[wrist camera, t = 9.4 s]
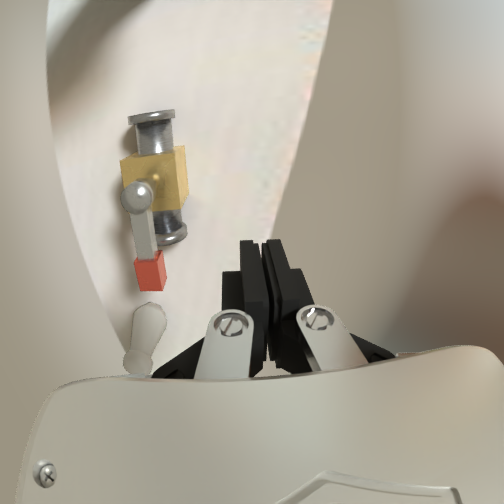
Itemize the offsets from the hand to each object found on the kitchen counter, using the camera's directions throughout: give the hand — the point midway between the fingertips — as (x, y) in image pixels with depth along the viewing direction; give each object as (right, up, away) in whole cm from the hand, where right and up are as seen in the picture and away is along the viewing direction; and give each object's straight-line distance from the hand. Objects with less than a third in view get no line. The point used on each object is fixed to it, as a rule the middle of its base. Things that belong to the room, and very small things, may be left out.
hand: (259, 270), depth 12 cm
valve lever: (-11, +3, +17) cm, 20 cm away
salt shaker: (-17, -9, +34) cm, 39 cm away
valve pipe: (-12, +11, +23) cm, 28 cm away
